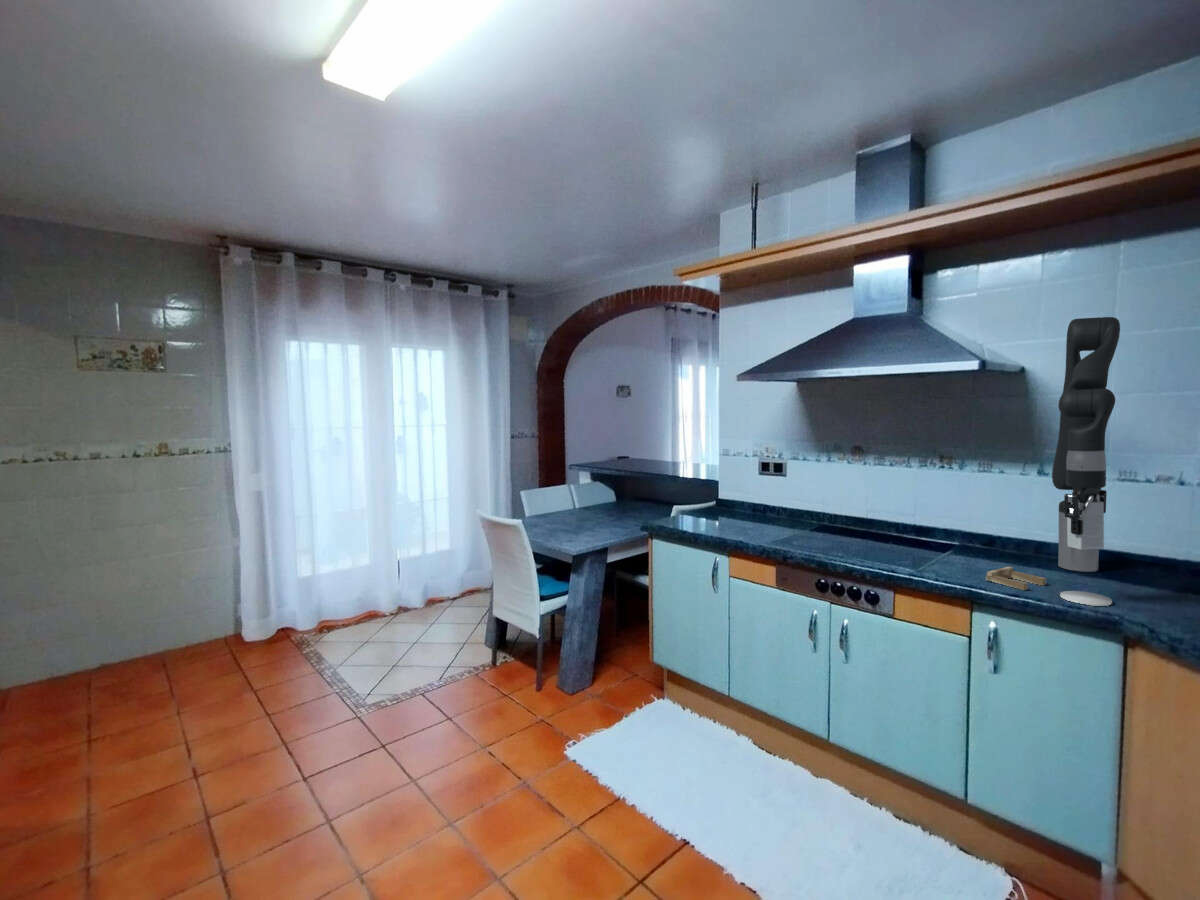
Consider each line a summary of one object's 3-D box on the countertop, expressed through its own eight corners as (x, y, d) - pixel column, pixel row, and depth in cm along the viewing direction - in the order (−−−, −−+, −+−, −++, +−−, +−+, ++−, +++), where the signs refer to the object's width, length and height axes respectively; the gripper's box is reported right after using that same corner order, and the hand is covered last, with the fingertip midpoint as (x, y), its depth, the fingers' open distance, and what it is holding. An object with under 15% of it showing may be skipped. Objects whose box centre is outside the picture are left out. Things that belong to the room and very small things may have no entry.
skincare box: (1088, 545, 143) (1089, 499, 142) (1104, 548, 138) (1104, 501, 138) (1065, 546, 142) (1066, 500, 142) (1080, 550, 138) (1081, 502, 137)
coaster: (1073, 591, 148) (1073, 588, 148) (1120, 602, 138) (1120, 599, 138) (1051, 597, 144) (1051, 594, 144) (1098, 609, 134) (1098, 606, 134)
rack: (1007, 576, 163) (1007, 566, 163) (1046, 585, 154) (1046, 574, 153) (986, 581, 159) (985, 571, 159) (1024, 591, 150) (1024, 580, 149)
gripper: (1087, 471, 133) (1087, 538, 134) (1120, 466, 138) (1119, 531, 139) (1051, 469, 140) (1051, 533, 141) (1084, 465, 145) (1083, 526, 146)
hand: (1085, 532), depth 140 cm, fingers closed on skincare box, 7 cm apart
